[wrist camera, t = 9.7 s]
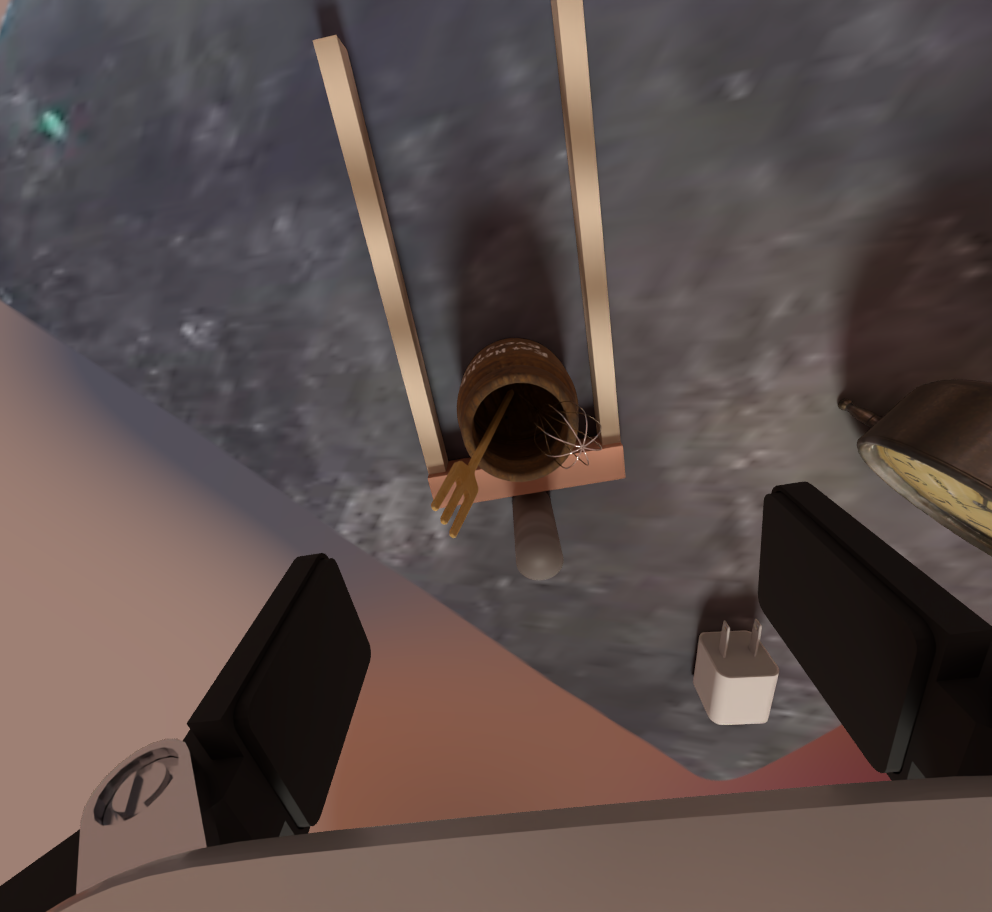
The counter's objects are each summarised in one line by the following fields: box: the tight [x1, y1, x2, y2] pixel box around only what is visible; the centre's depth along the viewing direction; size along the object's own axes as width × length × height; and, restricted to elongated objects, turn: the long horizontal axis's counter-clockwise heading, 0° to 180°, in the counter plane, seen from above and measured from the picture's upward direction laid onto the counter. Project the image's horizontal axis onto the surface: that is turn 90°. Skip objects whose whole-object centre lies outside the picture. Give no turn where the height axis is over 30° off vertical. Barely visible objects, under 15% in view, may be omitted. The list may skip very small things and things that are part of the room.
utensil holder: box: [431, 338, 602, 538], centre depth 21 cm, size 6×6×12 cm
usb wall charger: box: [693, 619, 779, 725], centre depth 32 cm, size 4×7×4 cm, turn 4°
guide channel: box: [313, 0, 625, 580], centre depth 22 cm, size 25×11×6 cm, turn 11°
